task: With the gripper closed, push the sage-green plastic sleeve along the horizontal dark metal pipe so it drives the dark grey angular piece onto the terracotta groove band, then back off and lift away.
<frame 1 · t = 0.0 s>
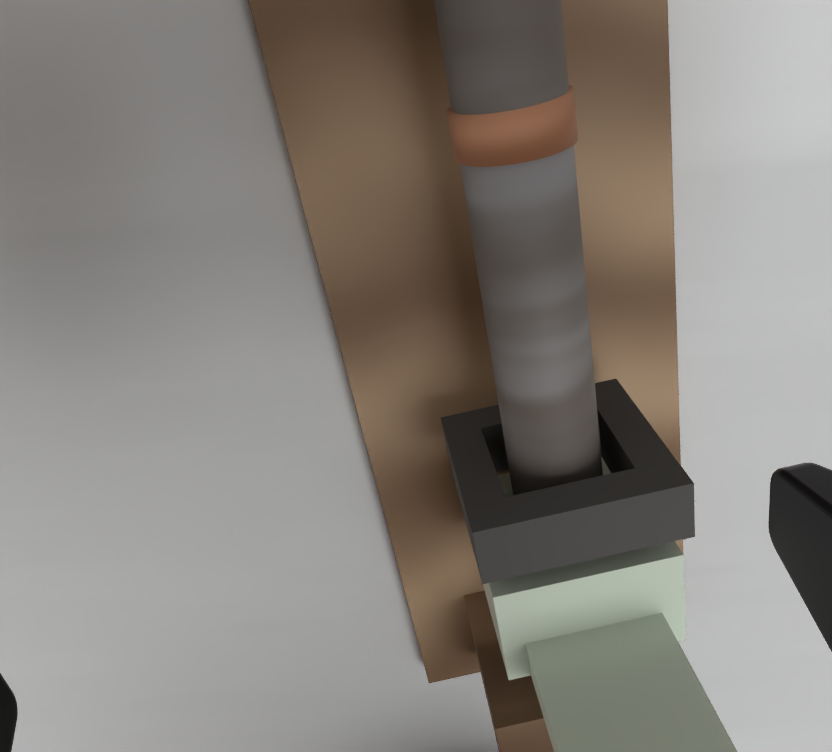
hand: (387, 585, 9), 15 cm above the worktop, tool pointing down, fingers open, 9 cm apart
dark grey angular piece: (555, 471, 20), point 5 cm above the worktop, slide at 0.0 cm
sleeve: (588, 608, 20), point 7 cm above the worktop, slide at 0.0 cm
pipe stand: (500, 297, 23), on the worktop
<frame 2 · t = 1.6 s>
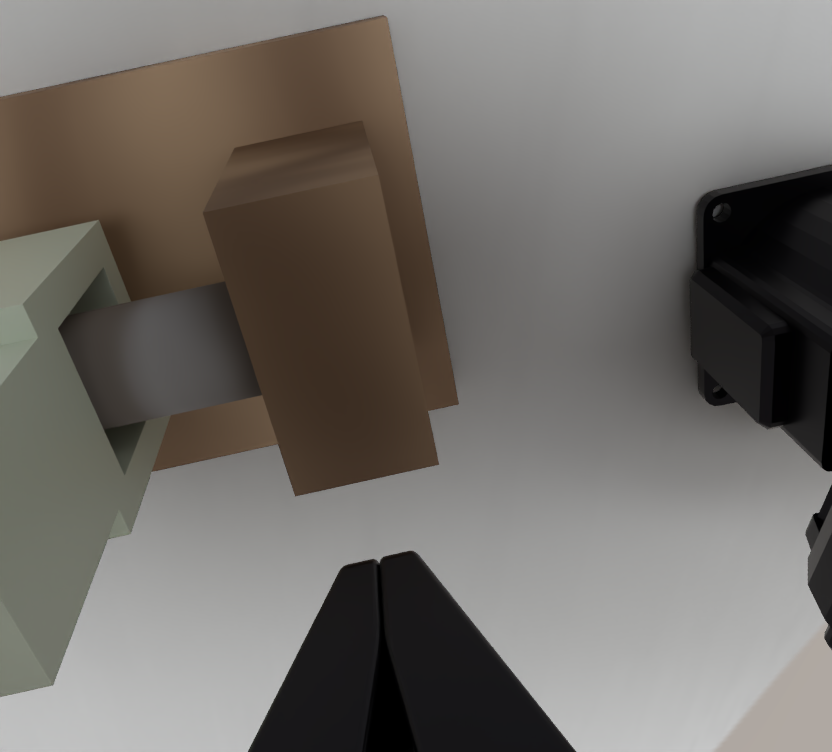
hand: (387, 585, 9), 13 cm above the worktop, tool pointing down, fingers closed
sleeve: (4, 435, 14), point 7 cm above the worktop, slide at 0.0 cm
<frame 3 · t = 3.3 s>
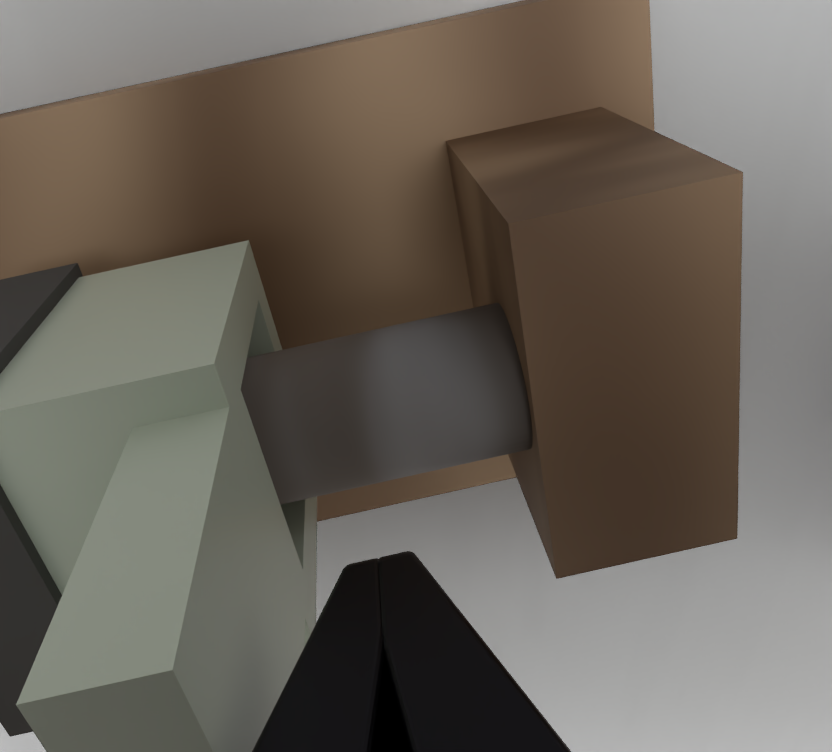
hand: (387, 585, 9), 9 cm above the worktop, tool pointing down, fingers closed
dark grey angular piece: (46, 478, 12), point 5 cm above the worktop, slide at 0.1 cm, touching sleeve
sleeve: (165, 526, 10), point 7 cm above the worktop, slide at 0.8 cm, touching gripper, dark grey angular piece
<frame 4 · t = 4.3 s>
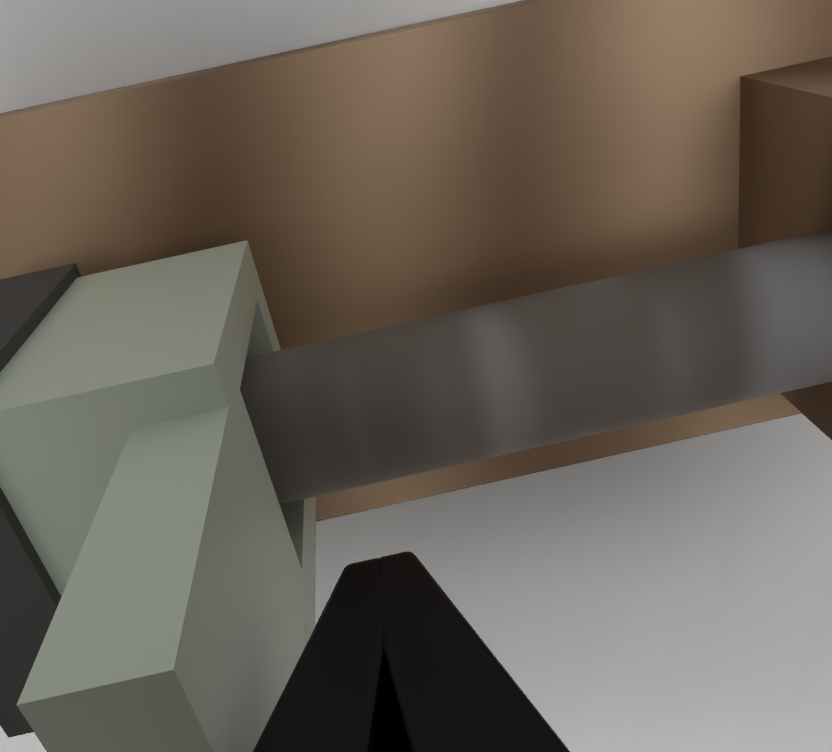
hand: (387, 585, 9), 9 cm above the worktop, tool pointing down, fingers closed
dark grey angular piece: (45, 479, 12), point 5 cm above the worktop, slide at 5.9 cm, touching sleeve
sleeve: (164, 527, 10), point 7 cm above the worktop, slide at 6.6 cm, touching gripper, dark grey angular piece
pipe stand: (246, 317, 17), on the worktop
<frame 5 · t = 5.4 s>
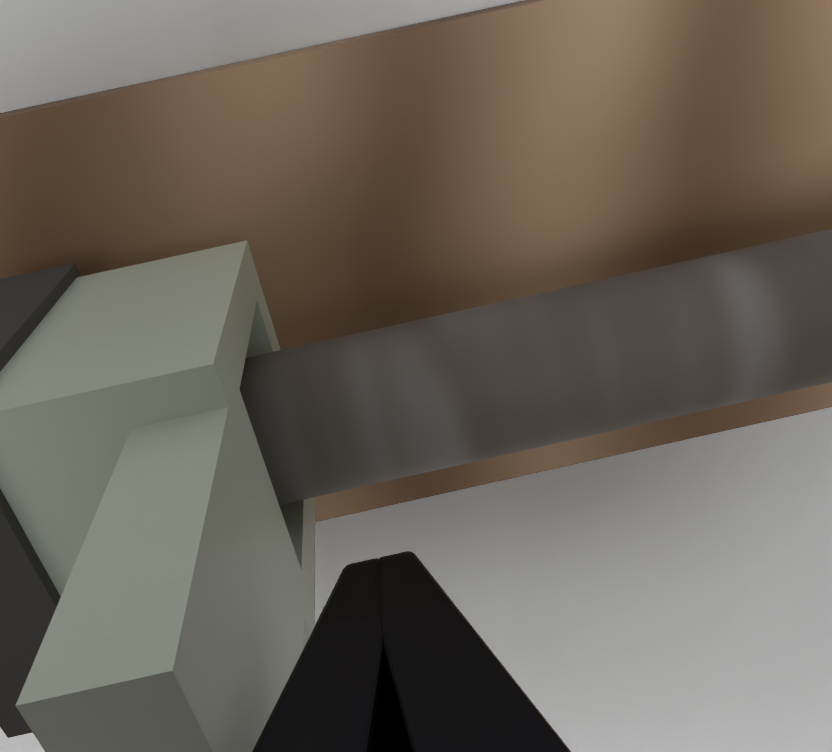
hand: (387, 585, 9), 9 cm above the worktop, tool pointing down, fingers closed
dark grey angular piece: (44, 479, 12), point 5 cm above the worktop, slide at 9.6 cm, touching sleeve
sleeve: (163, 527, 10), point 7 cm above the worktop, slide at 10.3 cm, touching gripper, dark grey angular piece
pipe stand: (415, 280, 17), on the worktop
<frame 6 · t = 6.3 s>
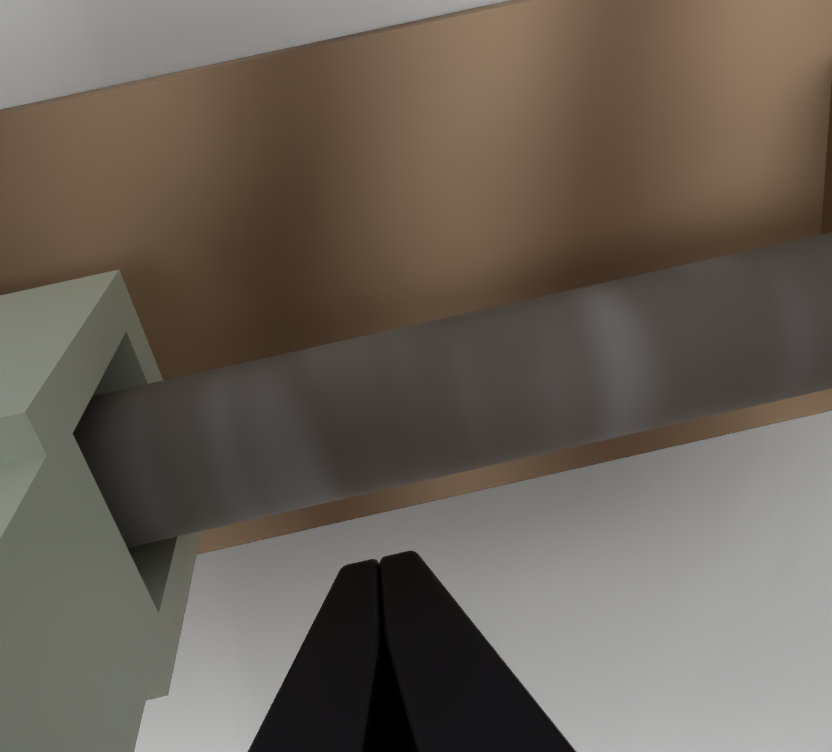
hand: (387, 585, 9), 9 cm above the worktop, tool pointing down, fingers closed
sleeve: (0, 574, 10), point 7 cm above the worktop, slide at 10.4 cm, touching dark grey angular piece
pipe stand: (320, 303, 16), on the worktop
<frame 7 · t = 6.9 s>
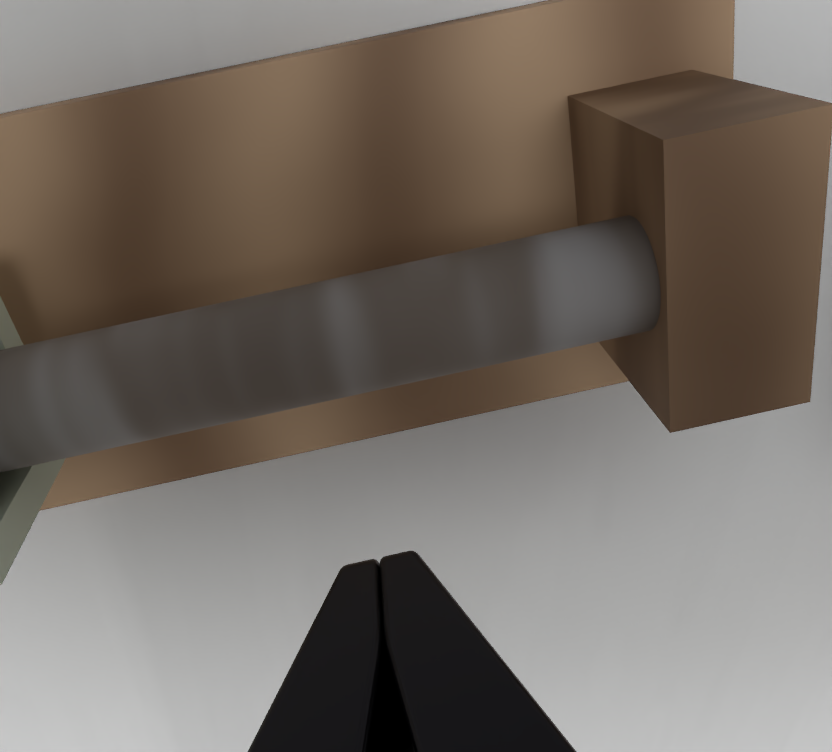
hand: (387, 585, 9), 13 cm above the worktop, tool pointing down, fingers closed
pipe stand: (172, 292, 20), on the worktop
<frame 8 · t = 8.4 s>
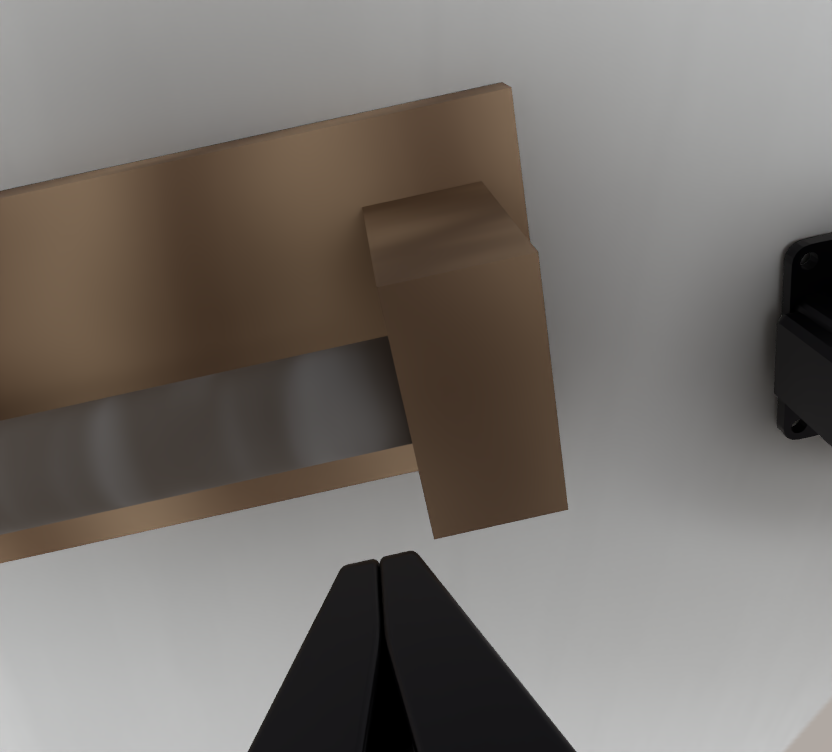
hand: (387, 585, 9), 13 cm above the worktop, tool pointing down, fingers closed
pipe stand: (8, 385, 21), on the worktop
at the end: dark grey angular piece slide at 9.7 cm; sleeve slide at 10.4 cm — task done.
